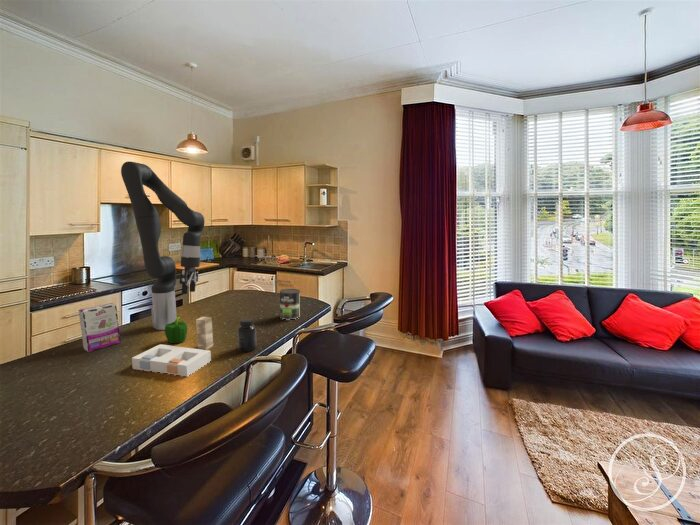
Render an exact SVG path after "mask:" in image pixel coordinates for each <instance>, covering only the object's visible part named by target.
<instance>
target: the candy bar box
mask: <svg viewBox="0 0 700 525" xmlns="http://www.w3.org/2000/svg"><path fill="white" fill-rule="evenodd" d="M78 317H79V325H80V331H81V339H82V346H83V350H84V351H86V352H88V353H92V352H94V351H98V350H101V349H105V348H109V347H111V346H114V345H119V344H120V343H121V335H120V326H119V318H118V317H119V316H118V309H117V305H116V304H115V303H110V302H109V303H105V304H100V305H95V306H91V307H87V308H86V307H85V308H81V309H78Z"/></svg>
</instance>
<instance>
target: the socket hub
mask: <svg viewBox="0 0 700 525" xmlns="http://www.w3.org/2000/svg"><path fill="white" fill-rule="evenodd" d="M210 361H211V362H212V354H211V350H209V349H207V350H204V349H198V348H192V347H183V346H178V345H177V346H176V345H168V344H158V345H156V346H154V347H152V348H149V349H148V350H145V351H143V352H141V353H139V354H137V355H134V356H133V357H131V365H132V366H131V367H132V370H139V371H143V370H144V371H145V372H150V371H152V373H157V372H160V373H159V374H163V373H168V374H167V375H170V374H174V375H173V376H176V375H181V376H180V377H183V376H186V377H185V378H188V377H190V376H191V375H192V373H193V374H194V373H196V372H197V371H199V370H200V369H202V368H203V367H205V366H206V365H208V364H209V363H210ZM207 363H208V364H207ZM204 365H205V366H204ZM201 367H202V368H201ZM198 369H199V370H198ZM195 371H196V372H195ZM190 374H191V375H190ZM189 375H190V376H189Z"/></svg>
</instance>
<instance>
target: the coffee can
mask: <svg viewBox="0 0 700 525" xmlns="http://www.w3.org/2000/svg"><path fill="white" fill-rule="evenodd" d="M300 293H301V291H300V289H298V288H283V289H281V290H279V311H280V312H279V313H280V314H279V317H280V319H281V318H282V319H281V320H283V319H286V320H285V321H291V320H290V319H295V320H297V319H296V318H298V317H301V314H300V313H301V310H300V309H301V306H300V305H301V303H300V302H301V298H300V296H301V295H300ZM298 319H299V318H298Z"/></svg>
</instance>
